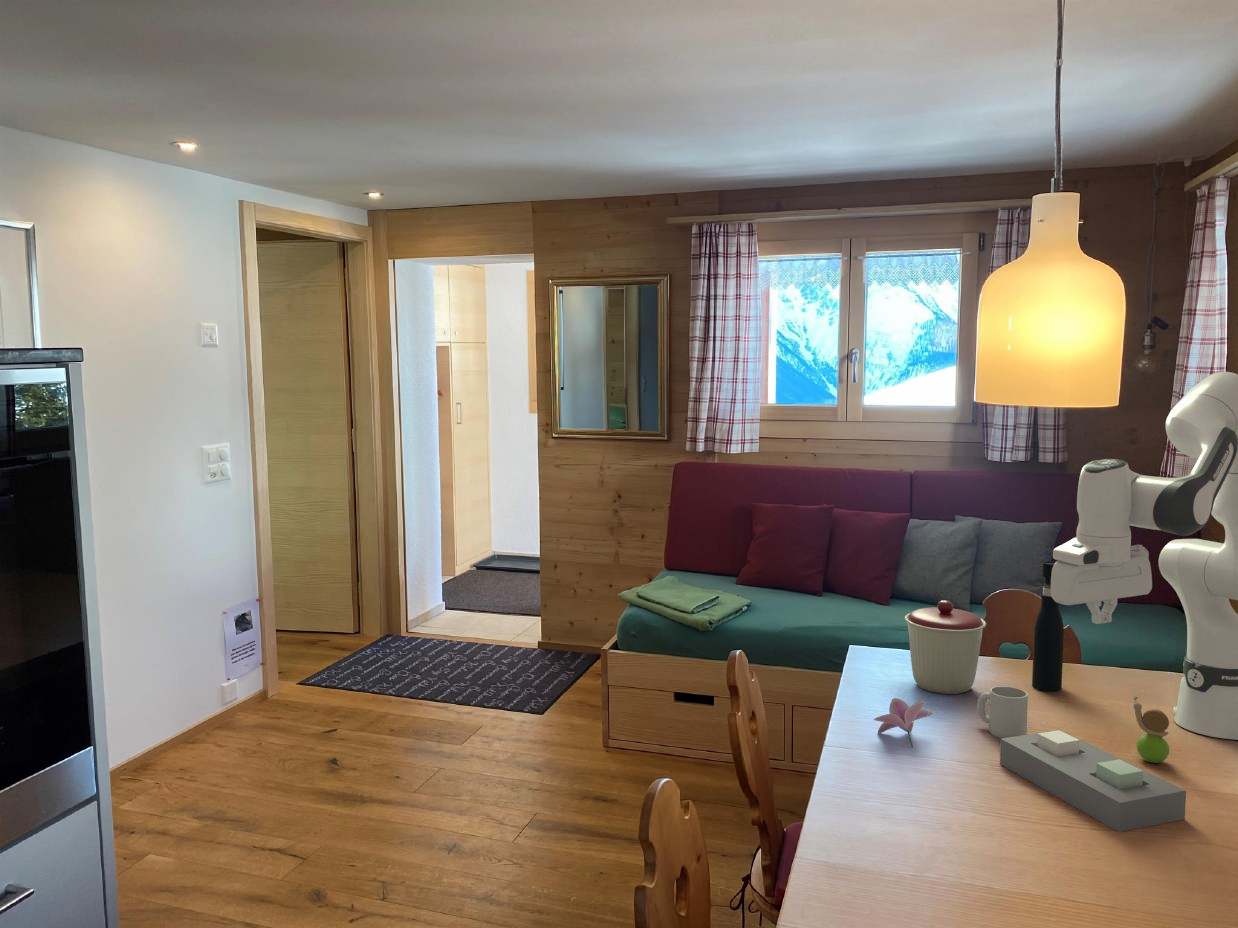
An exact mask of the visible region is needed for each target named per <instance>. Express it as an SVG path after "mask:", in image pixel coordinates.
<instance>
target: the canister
mask: <svg viewBox="0 0 1238 928" xmlns="http://www.w3.org/2000/svg"><path fill="white" fill-rule="evenodd" d="M904 621H905V622H906V623H907V629H908V642H909V652H910V661H911V671H912V676H913V680H914V681H915V684H916V685H918V686H919V687H920V688H921V689H923V690H926V691H928V692H932V693H937V694H942V695H943V694H945V695H959V694H963V693H967V692H968V691H970V690H971V689H972V687H973V686H974V683H975V680H976V675H977V674H976V673H977V668H978V663H979V659H980V657H979V656H980V652H981V651H980V650H981V646H982V645H981V643H982V636H983V630H984V628H986V627H987V622H986V620H984V619H983V618H981V617H979V615H977V614H975V613H974V612H970V611H967V610H963V609H959V608H954V604H953V602H951V601H950V600H946V599H945V600H944V599H943V600H939V602H937V607H935V606H934V607H932V606H931V607H923V608H918V609H914V610H913V611H911V612H909V613H907V614H906V615H905V616H904Z"/></svg>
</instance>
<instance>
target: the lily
mask: <svg viewBox="0 0 1238 928" xmlns="http://www.w3.org/2000/svg"><path fill="white" fill-rule="evenodd" d="M926 702H927V701H926V700H923V701H919V702H917V703H915V704H912V705H911V706H910V705H909V704H908V703H907V702H905V701H903V700H902V699H900V698H897V697H893V698H892V699H891V701H890V703H889V708H888V710H889V711H888V713H886V714H882V715H880V716H877V717H875V718H873V720H874V721H876V722H880V723H881V724H880V726H879V728H878V730H877V734H881V733H884V732H886V731H889V730H891V729H894V728H897V727H898V728H899V729H900V730H902V731H904V732H906V733H907V735H908V739H909V742H910V747H911V748H912V749H913V748H914V745H913V742H912V738H911V733H912V731H913V728H914V722H915V721H917V720H920V719H923V718H927V717H931V716H933V715H935V712H933V711H931V710H928V709H922V708H923V707H924V706H925V704H926Z"/></svg>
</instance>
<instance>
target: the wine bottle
mask: <svg viewBox="0 0 1238 928" xmlns="http://www.w3.org/2000/svg"><path fill="white" fill-rule="evenodd" d="M1056 562H1057V561H1051V560H1050V561H1043V562H1042V564H1041V565H1042V566H1041V567H1042V568H1041V577H1042V578H1044V586H1043V587H1042V594H1041V599H1040V600H1041V602H1040V607H1039V611H1038V613H1037V615H1036V618H1035V621H1034V626H1033V648H1032V649H1033V650H1032V674H1031V675H1032V677H1031V679H1032V680H1031V686H1032V688H1034V689H1035V690H1038V691H1040V692H1041V691H1042V692H1047V693H1055V692H1057V693H1058V692H1061V691H1062V689H1063V688H1062V686H1063V663H1064V639H1065V637H1064V635H1065V633H1064V632H1065V628H1064V627H1065V626H1064V622H1063V615H1062V614H1061V610H1060V607H1059V606H1060V605H1059V604H1060V603H1058V602H1055V601H1054V600H1053V598H1052V596H1051V574H1052V568H1053V566H1054V564H1055V563H1056Z"/></svg>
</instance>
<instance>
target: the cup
mask: <svg viewBox="0 0 1238 928" xmlns="http://www.w3.org/2000/svg"><path fill="white" fill-rule="evenodd" d="M1028 699H1029V693H1028V692H1027V691H1026V690H1024V689H1021V688H1018V687H1016V686H1015V687H1014V686H1007V685H1005V686H1004V685H1001V686H1000V685H998V686H993V687H991V688H990V690H989V692H988V691H985V692H982V693H981V694H980V695H979V696H978V699H977V702H976V707H977V713H978V716H979V718H980V719H981V721H983V722H984V723H985V724H988V730H989V733H990V734H991V735H992V736H994V737H996V738H999V739H1002V738H1008V737H1015V736H1021V735H1027V729H1028V728H1027V727H1028V707H1029V706H1028V703H1029V700H1028ZM987 701H989V713H988V714H987V711H986V708H985V707H986V703H987Z"/></svg>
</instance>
